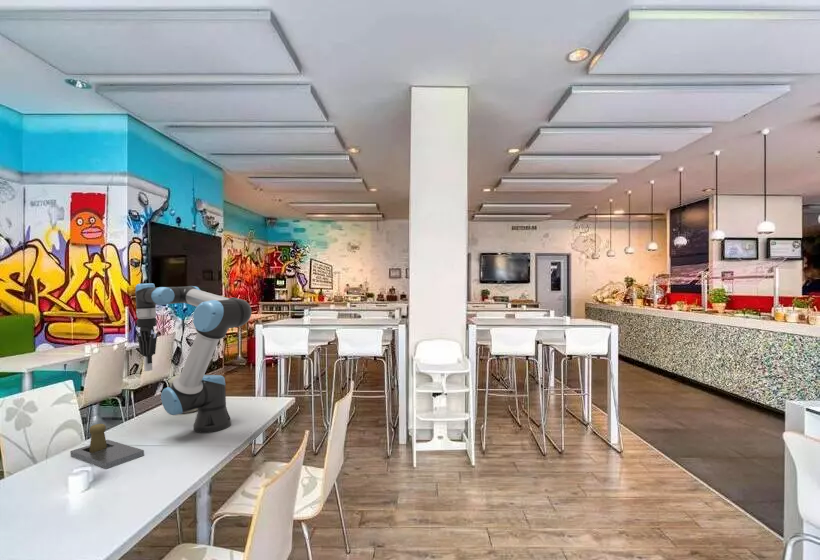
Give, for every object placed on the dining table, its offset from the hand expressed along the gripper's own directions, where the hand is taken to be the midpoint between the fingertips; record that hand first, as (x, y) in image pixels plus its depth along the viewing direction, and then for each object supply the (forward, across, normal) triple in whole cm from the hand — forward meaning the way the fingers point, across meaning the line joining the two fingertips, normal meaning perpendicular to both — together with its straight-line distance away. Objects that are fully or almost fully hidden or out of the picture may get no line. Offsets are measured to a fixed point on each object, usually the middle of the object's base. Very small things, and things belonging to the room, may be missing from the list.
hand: (148, 370), depth 195 cm
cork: (+27, +9, -25) cm, 38 cm away
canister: (+27, -12, +26) cm, 39 cm away
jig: (+26, +16, -25) cm, 40 cm away
